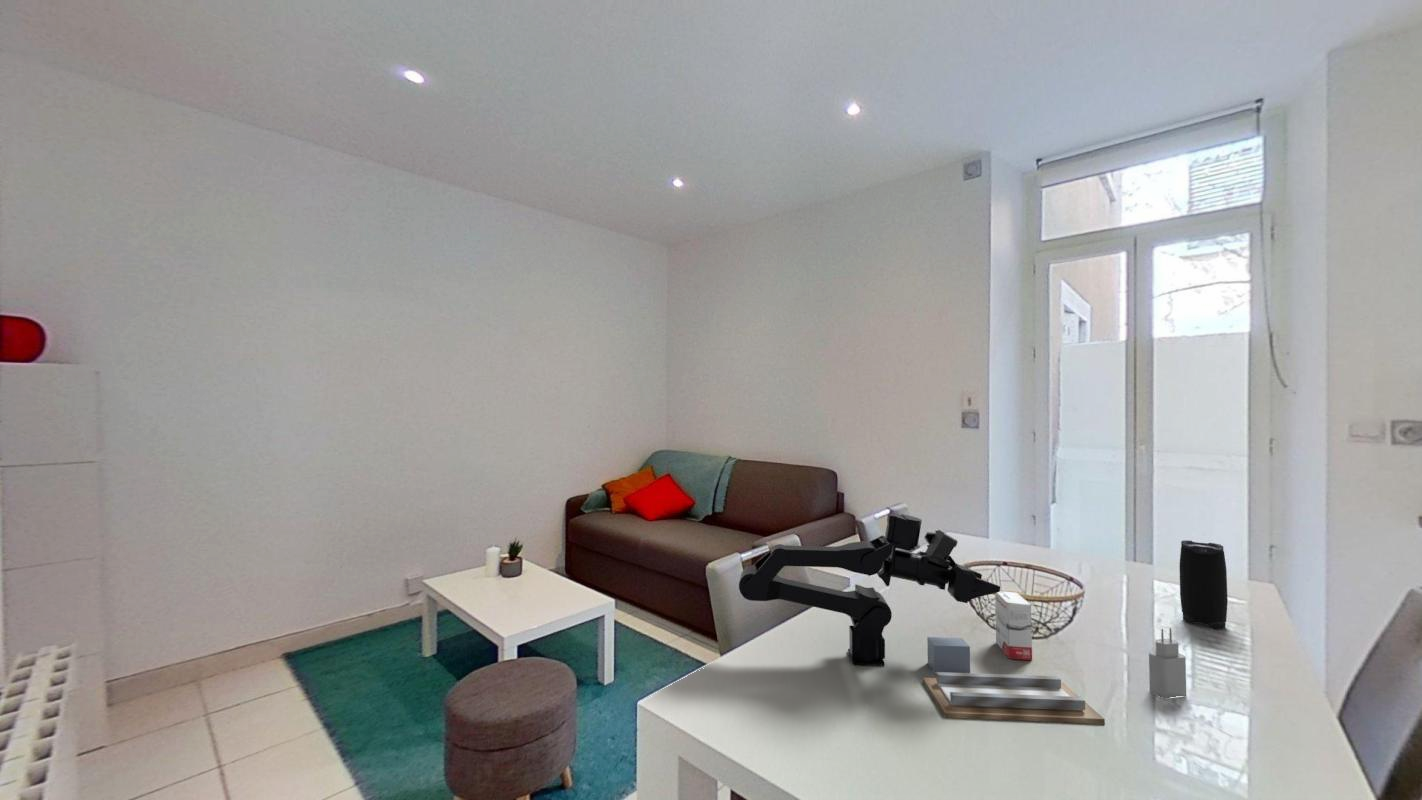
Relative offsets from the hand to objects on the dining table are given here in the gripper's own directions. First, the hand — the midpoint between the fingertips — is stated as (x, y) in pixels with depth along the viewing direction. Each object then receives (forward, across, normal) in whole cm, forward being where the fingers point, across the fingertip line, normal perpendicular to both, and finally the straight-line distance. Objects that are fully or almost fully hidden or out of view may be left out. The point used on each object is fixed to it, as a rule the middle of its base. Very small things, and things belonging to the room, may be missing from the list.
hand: (990, 582), depth 110 cm
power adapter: (+30, -8, +12) cm, 34 cm away
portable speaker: (+63, +28, +5) cm, 69 cm away
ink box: (+10, +8, +15) cm, 20 cm away
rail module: (-6, -2, +18) cm, 20 cm away
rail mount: (0, -14, +18) cm, 22 cm away
